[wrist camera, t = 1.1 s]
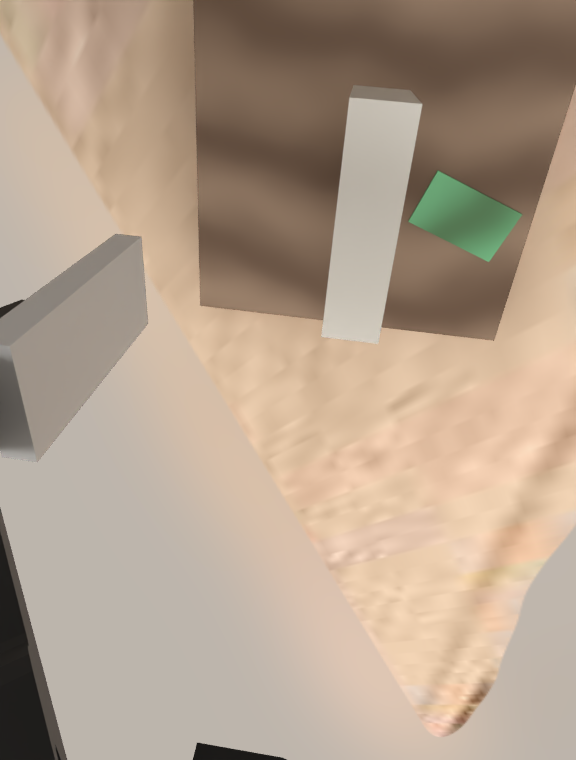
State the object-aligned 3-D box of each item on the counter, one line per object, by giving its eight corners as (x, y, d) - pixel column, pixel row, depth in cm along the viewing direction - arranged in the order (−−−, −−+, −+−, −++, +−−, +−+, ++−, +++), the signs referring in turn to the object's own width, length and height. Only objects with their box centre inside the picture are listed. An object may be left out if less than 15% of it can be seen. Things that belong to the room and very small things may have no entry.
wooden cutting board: (202, -62, 28) (190, -70, 26) (599, -34, 26) (616, -40, 24) (207, 294, 38) (199, 306, 37) (488, 327, 37) (494, 342, 35)
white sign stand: (356, 76, 28) (349, 97, 18) (401, 80, 28) (422, 103, 17) (328, 309, 35) (311, 421, 25) (364, 313, 35) (362, 428, 25)
